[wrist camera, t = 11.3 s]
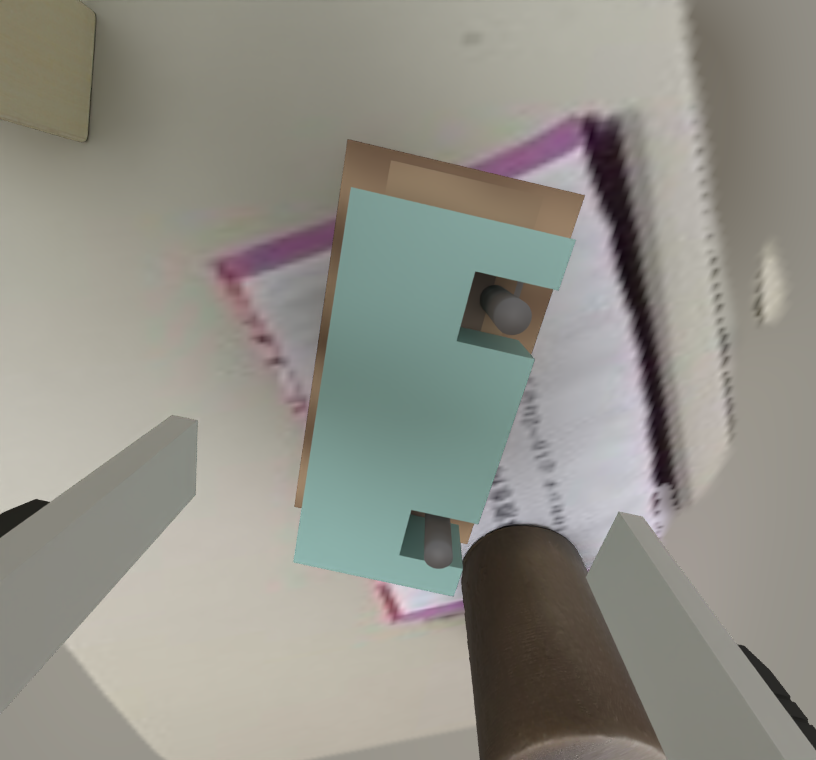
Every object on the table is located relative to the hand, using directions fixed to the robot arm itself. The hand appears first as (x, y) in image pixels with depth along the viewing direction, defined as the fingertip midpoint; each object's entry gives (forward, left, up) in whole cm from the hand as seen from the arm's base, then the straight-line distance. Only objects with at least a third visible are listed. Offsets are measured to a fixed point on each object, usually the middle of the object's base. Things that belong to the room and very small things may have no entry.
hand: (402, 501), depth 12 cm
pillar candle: (+15, +12, -15) cm, 25 cm away
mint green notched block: (+1, 0, -10) cm, 10 cm away
